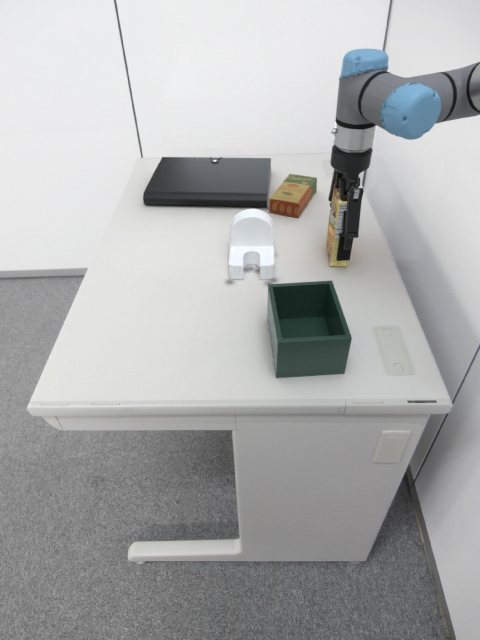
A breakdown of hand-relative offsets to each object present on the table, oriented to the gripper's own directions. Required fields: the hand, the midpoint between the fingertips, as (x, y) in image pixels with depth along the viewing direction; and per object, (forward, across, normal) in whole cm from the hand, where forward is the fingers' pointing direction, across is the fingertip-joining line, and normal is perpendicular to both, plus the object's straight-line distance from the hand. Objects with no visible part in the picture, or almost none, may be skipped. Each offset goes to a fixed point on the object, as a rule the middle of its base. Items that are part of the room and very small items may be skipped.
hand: (337, 246), depth 98 cm
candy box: (+2, 0, 0) cm, 2 cm away
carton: (+2, -26, -6) cm, 27 cm away
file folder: (+2, -37, -28) cm, 46 cm away
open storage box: (+2, +27, -12) cm, 30 cm away
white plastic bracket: (+2, -2, -19) cm, 19 cm away
